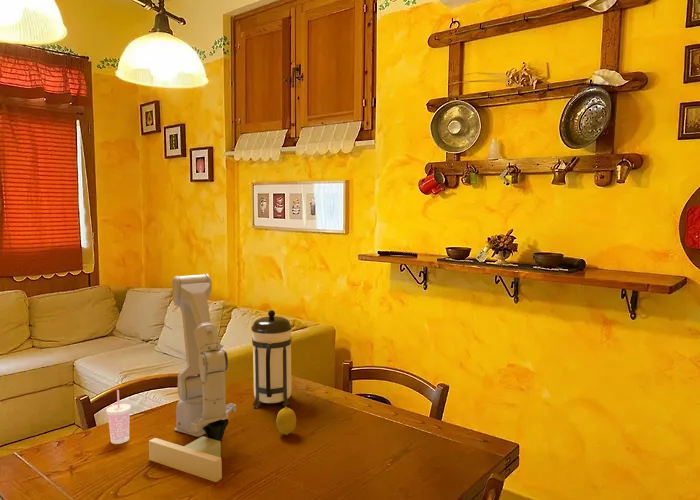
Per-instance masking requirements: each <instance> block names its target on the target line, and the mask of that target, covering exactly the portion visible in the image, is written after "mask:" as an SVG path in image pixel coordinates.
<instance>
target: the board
mask: <svg viewBox="0 0 700 500" xmlns="http://www.w3.org/2000/svg"><path fill="white" fill-rule="evenodd" d="M184 446H185V445H184ZM184 446H183V445H181V444H177V443H173V442H170V441H167V440H164V439H161V438H157V437H154V438H152V439H149V440H148V456H149V461H151V462H153V463H157V464H160V465H163V466H167V467H168V468H169V467H170V468H172V469H175V470H178V471H181V472H185V473H187V474H190V475H193V476H196V477H199V478H202V479H205V480H208V481H210V482H214V483H217V482H219V481H220V480H222V479H223V471H222V469H223V468H222V467H223V466H222V463H223V462H222V457H221V458H220V457H217V456H213V455H210V454H207V453H204V452H200V451H197V450H194V449H190V448H187V447H184Z"/></svg>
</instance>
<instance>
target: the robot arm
mask: <svg viewBox="0 0 700 500" xmlns="http://www.w3.org/2000/svg"><path fill="white" fill-rule="evenodd" d="M212 283H213V282H212V278H211V276H210V275H209V274H208V273H203V274H192V275H189V274H188V275H174V277H173V278H172V283H171V284H172V285H171V290H172V300H173V304H174V306H176V307H179V308H180V311H181V315H182V324H183V325H182V328H183V336H184V346H185V347H184V348H185V357H186V359H185V360H186V365H185V366H184V367H183V368H182V369H181V370H180V371H179V373H178V374H177V394H178V398H179V399H178V400H177V401H178V402H177V403H176V405H175V406H176V407H175V414H176V415H175V417H176V419H175V420H176V421H175V422H176V427H174V431H176V432H179V433H182V434H186V435H190V436H193V437H196V438H200V437H202V436H205V434H206V437H207V438H211V439H214V440H218V441H220V444H221V445H222V440H223V436H224V433H225V431H226V428H227V427H228V425H229V417H230V415H229V414H231V413H235V412H237V404H236V403H231V402H230V403H228V404H227V403H226V401H227V399H226V372H227V371H228V370H229V357H228V352H227V350H226V349H225V347H224V344H223V345H222V343H221V340H220V337H219V336H220V335H219V332H218V329H217V327H216V325H215V324H213V323H212V321H211V317H210V316H211V315H210V308H209V302H208V300H209V299H210V297H211V294H212V290H213V285H212ZM195 375H196V376H195Z"/></svg>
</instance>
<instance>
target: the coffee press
mask: <svg viewBox="0 0 700 500" xmlns="http://www.w3.org/2000/svg"><path fill="white" fill-rule="evenodd" d="M267 314H268V316H263V317H259V318H258V319H256V320H255V321H254V322H253V323H252V325H251V331H252V338H251V345H252V360H253V361H252V362H253V363H252V365H253V369H252V371H253V397H254V402H253V404H252V407H253V408H256V409H258V408H259V407H260V406H261V405H262V404H263V403H265V404H277V403H281V404H282V406H283V408H285V407H287V408H290V402H289V398H290V397H292V339H293V338H292V329H293V325H292V324H291V322H290V320H289V319H288V318H286V317H283V316H276V312H275V311H274V310H273V309H271V310H269V311H268V312H267Z"/></svg>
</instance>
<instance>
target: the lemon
mask: <svg viewBox="0 0 700 500" xmlns="http://www.w3.org/2000/svg"><path fill="white" fill-rule="evenodd" d="M275 424H276V429H277V430H278V431H279V433H282V434H284V436H288V435H289V434H291V433H293V432H294V431H295V429H296V425H297V417H296V413H295V411H294V410H293V409H291V408H290V407H285V408H284V407H283V408H281V409H280V410H279V411H278V413H277V416H276V419H275Z"/></svg>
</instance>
